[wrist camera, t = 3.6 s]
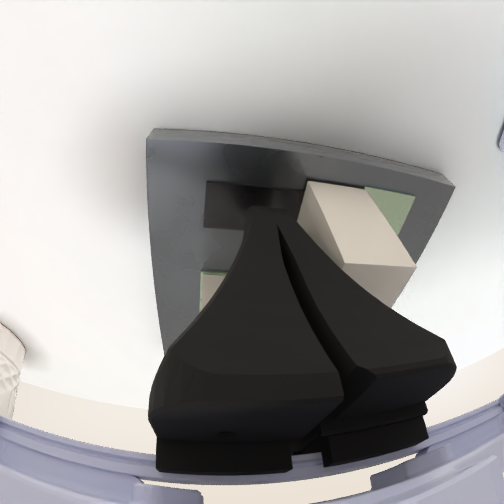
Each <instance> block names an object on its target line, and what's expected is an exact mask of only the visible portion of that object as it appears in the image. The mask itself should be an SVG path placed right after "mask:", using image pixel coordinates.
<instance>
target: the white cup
mask: <svg viewBox="0 0 504 504" xmlns="http://www.w3.org/2000/svg"><path fill="white" fill-rule="evenodd" d="M25 352H26V350H25V348H24V347H23V345H22V343H21V341H20V340H19V339H18V338H17V337H16V336H15V335H14V334H13V333H12V332H11V331H10V330H8V329H7V328H6V327H4V326H3V325H2V324H0V416H3V417H5V418H8V419H10V420H12V416H13V411H14V403H15V399H16V395H17V388H18V385H19V381H20V378H19V375H20V371H21V367H22V364H23V360H24V357H25Z"/></svg>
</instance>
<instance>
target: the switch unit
mask: <svg viewBox="0 0 504 504" xmlns="http://www.w3.org/2000/svg"><path fill="white" fill-rule="evenodd" d="M146 167H147V198H148V217H149V232H150V245H151V256H152V267H153V276H154V285H155V294H156V302H157V309H158V317H159V324H160V330H161V337H162V343H163V349H164V355H165V354H166V352H167V350H168V348H169V346H170V345H171V344H172V343H173V342H174V341H175V340H176V339H177V338H178V337H179V336H180V335H181V334H182V332H183V331H184V330H185V329H186V328H187V327H188V326H189V325H190V324H191V323H192V322H193V320H194V319H195V318H196V317H197V316H198V314H199V313H200V312H201V298H202V281H203V274H207V275H224V276H226V274H227V273H228V271H229V269H230V267H231V265H232V263H233V262H234V260H235V257H236V255H237V253H238V251H239V248H240V246H241V244H242V241H243V235H244V229H245V223H246V217H247V211H248V208H249V207H251V206H262V207H272V208H282V209H286V210H287V211H288V212H289V213H290V214H291V215H292V216H293V218H294V219H295V220H296V221H297V219H298V215H299V212H300V208H301V204H302V201H303V197H304V193H305V190H306V186H307V182H308V181H313V182H320V183H327V184H334V185H340V186H347V187H353V188H359V189H365V190H366V191H367V193H368V194H369V195H370V197H371V198H372V200H373V201H374V202H375V204H376V205H377V207H378V208H379V210H380V211H381V212H382V214H383V215H384V217H385V218H386V220H387V221H388V223H389V224H390V226H391V227H392V229H393V230H394V232H395V233H396V235H397V236H398V238H399V239H400V241H401V242H402V244H403V246H404V247H405V249H406V250H407V252H408V254H409V255H410V257H411V258H412V260H413V262H414V263H415V264H416V263H417V261H418V259H419V257H420V256H421V254H422V252H423V250H424V248H425V247H426V245H427V243H428V241H429V239H430V237H431V236H432V234H433V232H434V230H435V228H436V226H437V224H438V222H439V220H440V218H441V216H442V214H443V212H444V210H445V208H446V206H447V204H448V202H449V200H450V198H451V195H452V193H453V191H454V189H455V186H454V185H453V184H452V183H451V182H450V181H449V180H448V179H447V178H445V177H444V176H443V175H442V174H439V173H436V172H432V171H429V170H426V169H422V168H418V167H415V166H411V165H407V164H404V163H400V162H396V161H392V160H388V159H384V158H379V157H375V156H371V155H366V154H362V153H357V152H352V151H348V150H343V149H337V148H332V147H327V146H321V145H315V144H310V143H303V142H297V141H290V140H284V139H276V138H269V137H261V136H252V135H243V134H233V133H222V132H209V131H194V130H175V129H153V131H152V132H151V133H150V135H149V136H148V138H147V139H146Z"/></svg>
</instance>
